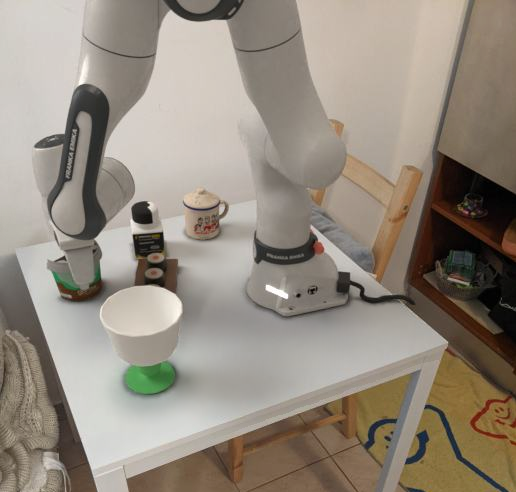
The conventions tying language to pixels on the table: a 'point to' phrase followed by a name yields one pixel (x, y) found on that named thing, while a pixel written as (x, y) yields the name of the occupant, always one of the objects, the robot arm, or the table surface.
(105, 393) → the table surface
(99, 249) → the food container
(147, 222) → the medicine bottle
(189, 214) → the teacup with lid
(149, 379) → the cup
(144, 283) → the sushi board
